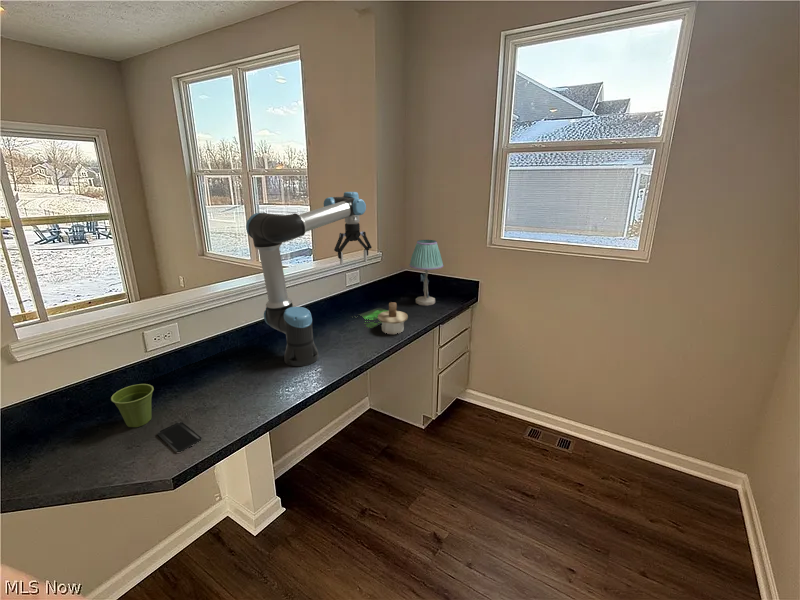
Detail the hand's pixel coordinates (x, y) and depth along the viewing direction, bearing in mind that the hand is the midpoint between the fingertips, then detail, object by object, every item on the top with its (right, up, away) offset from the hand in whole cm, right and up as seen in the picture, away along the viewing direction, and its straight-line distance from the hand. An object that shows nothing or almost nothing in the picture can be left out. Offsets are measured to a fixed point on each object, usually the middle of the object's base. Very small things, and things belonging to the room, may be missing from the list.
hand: (353, 263), depth 205 cm
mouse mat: (+10, -31, +20) cm, 38 cm away
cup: (+21, -36, +2) cm, 42 cm away
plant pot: (-65, -61, -73) cm, 115 cm away
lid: (+21, -29, 0) cm, 36 cm away
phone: (-46, -65, -81) cm, 114 cm away
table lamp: (+41, -21, +46) cm, 66 cm away
